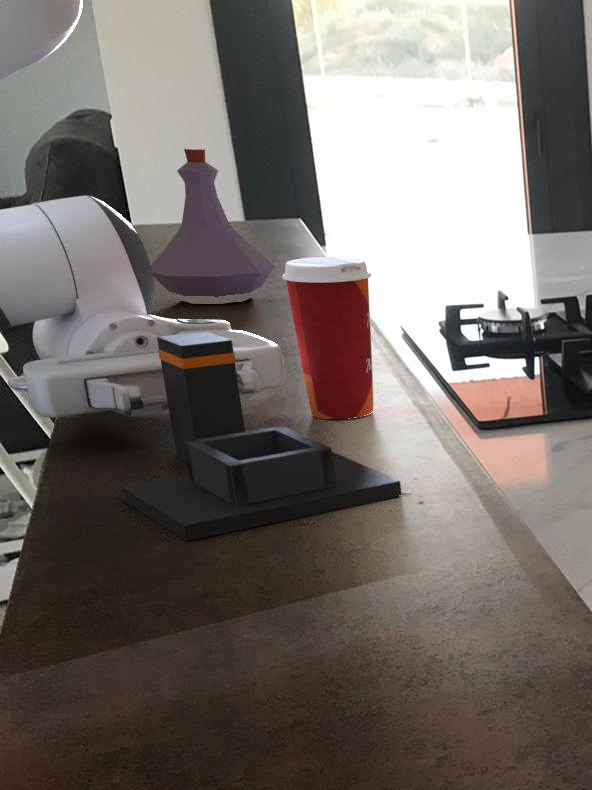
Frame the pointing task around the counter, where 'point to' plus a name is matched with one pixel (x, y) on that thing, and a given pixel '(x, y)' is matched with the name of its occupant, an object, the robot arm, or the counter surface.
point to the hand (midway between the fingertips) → (193, 391)
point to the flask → (207, 243)
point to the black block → (200, 387)
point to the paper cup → (333, 333)
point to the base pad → (256, 484)
